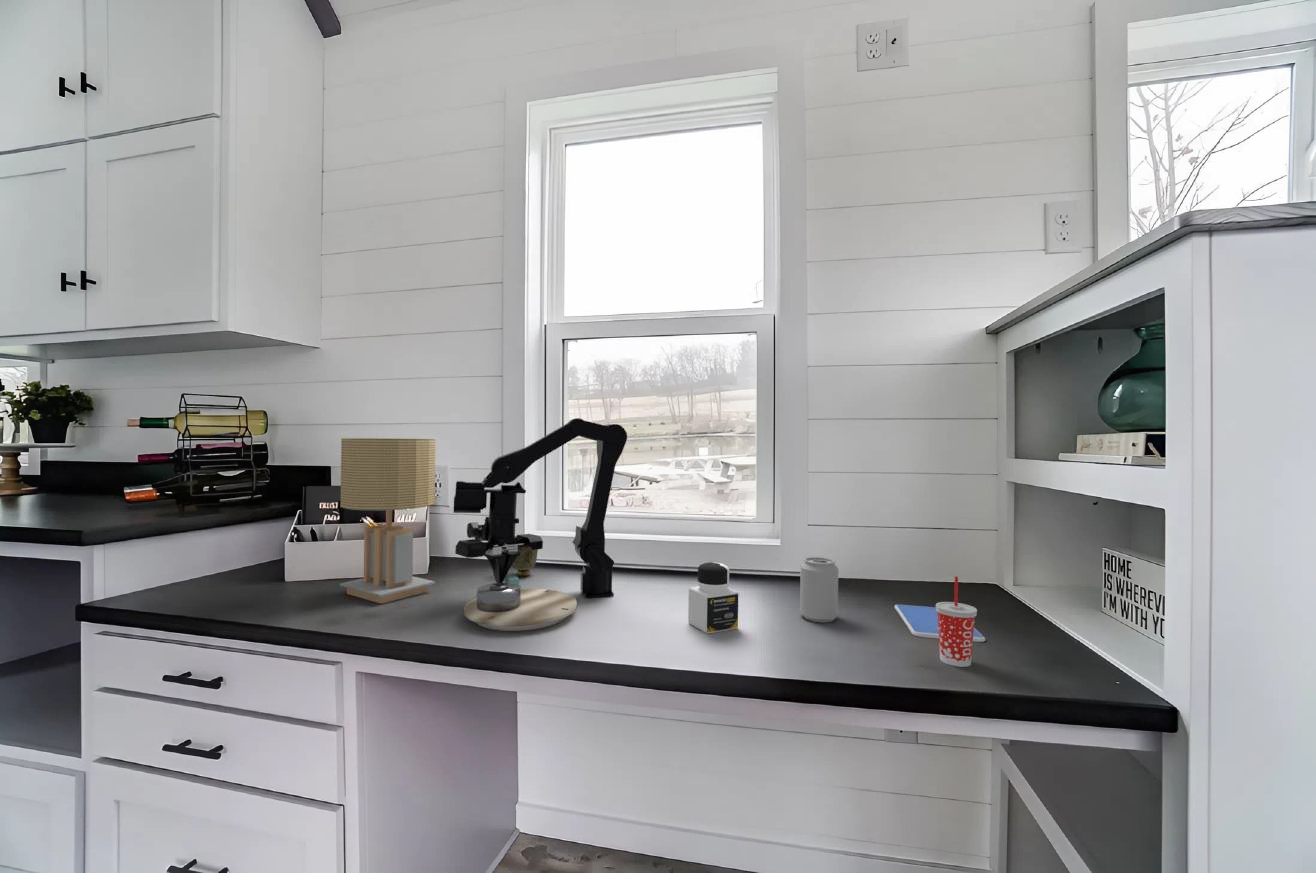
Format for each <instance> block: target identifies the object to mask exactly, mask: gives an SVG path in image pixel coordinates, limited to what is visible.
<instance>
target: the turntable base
mask: <svg viewBox="0 0 1316 873" xmlns="http://www.w3.org/2000/svg"><path fill="white" fill-rule="evenodd" d="M564 619H565V618H562V619H559V620H556V621H552V622H548V623H543V624H537V625H529V626H492V625H485V624H480V623H476V624H477V625H478V626H480V627H482V628H485V629H489V630H494V631H503V632H504V631H505V632H522V631H523V632H524V631H531V630H539V629H543V628H548V627H550V626H553V625H556V624H558V623H561V622H562V621H563V620H564Z"/></svg>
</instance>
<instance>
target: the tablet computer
mask: <svg viewBox="0 0 1316 873" xmlns="http://www.w3.org/2000/svg"><path fill="white" fill-rule="evenodd" d="M894 609H895V611H896V612H897V613H898V615H899V616H900V618H901V619H902V620H903V622H904V624H905V625H906V626H907V628H908V629H909V631H910V633H911V634H912V635H913V636H915V637H918V638H928V639H938V640H939V631H938V612H937V611H936V606H934V607H933V606H924V605H923V606H922V605H910V604H907V605H906V604H895V605H894ZM985 641H986V637H985V636H983V634H982V633H981V632H980V631H978V630H977V629H976V627H974V633H973V643H974V642H975V643H976V642H977V643H978V642H979V643H981V642H982V643H983V642H985Z"/></svg>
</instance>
